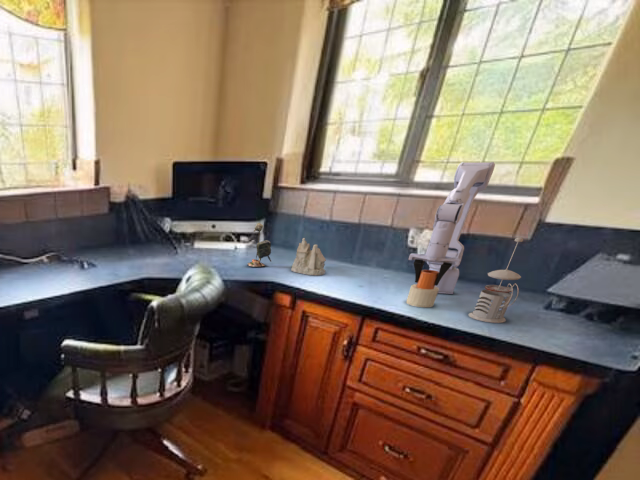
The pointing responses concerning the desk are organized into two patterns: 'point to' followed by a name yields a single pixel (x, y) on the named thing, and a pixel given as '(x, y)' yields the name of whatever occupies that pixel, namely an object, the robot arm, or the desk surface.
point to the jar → (422, 296)
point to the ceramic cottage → (308, 260)
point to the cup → (427, 279)
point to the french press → (496, 296)
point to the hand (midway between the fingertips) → (426, 283)
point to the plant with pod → (261, 249)
